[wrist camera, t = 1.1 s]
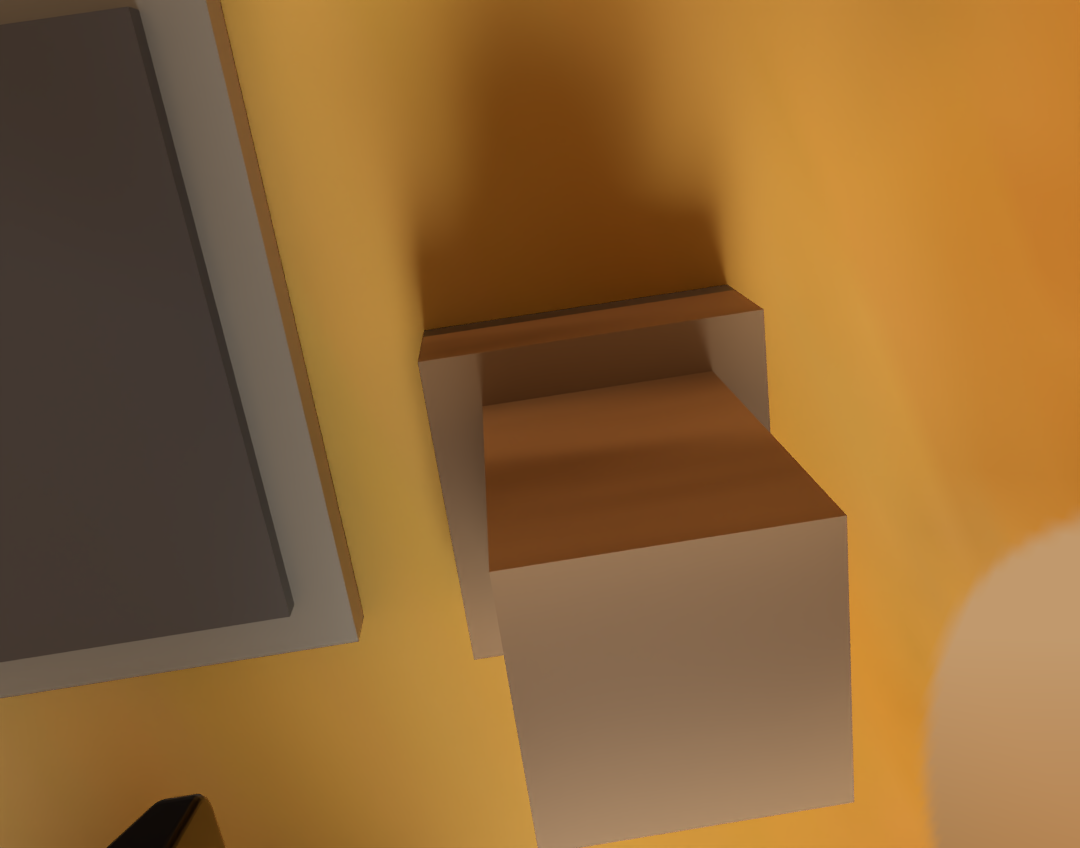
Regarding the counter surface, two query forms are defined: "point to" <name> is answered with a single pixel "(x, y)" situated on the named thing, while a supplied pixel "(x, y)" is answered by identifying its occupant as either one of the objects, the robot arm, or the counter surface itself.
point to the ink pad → (148, 363)
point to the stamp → (645, 564)
